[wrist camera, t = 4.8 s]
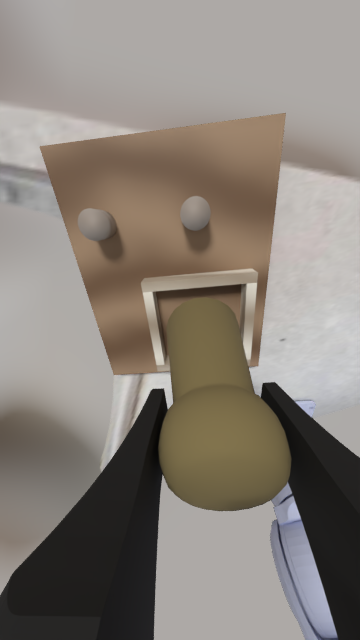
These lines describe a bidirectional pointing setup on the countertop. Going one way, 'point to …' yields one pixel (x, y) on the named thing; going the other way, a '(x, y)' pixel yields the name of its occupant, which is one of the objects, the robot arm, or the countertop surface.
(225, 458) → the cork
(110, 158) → the board
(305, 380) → the countertop surface
